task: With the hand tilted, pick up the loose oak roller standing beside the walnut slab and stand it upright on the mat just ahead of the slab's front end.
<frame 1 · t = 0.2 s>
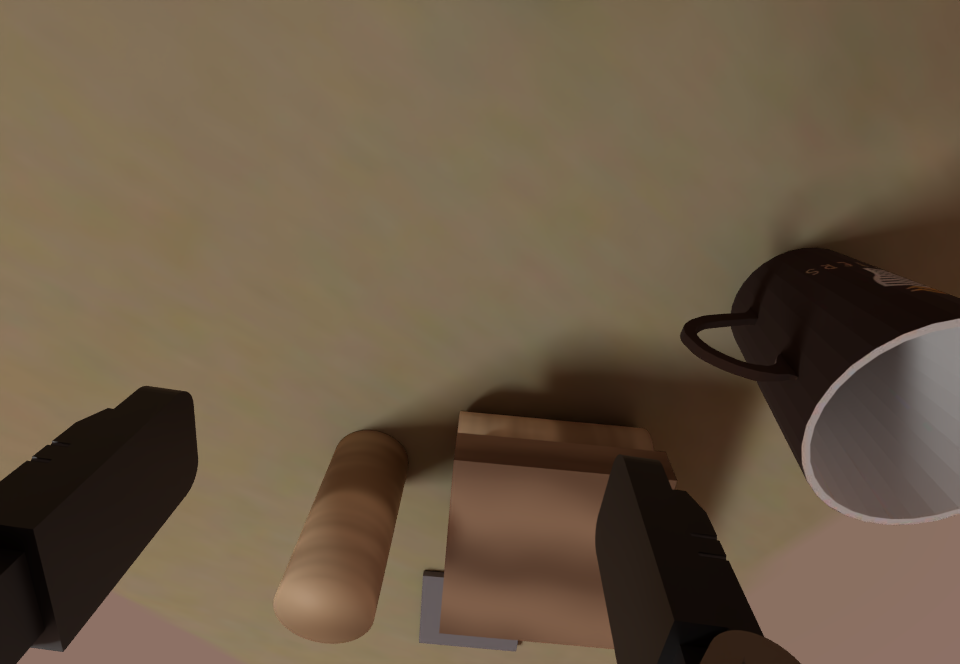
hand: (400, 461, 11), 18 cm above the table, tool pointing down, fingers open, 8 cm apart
coffee mug: (775, 289, 28), on the table
roller: (371, 460, 33), on the table
slab: (538, 476, 33), on the table
mat: (471, 609, 39), on the table
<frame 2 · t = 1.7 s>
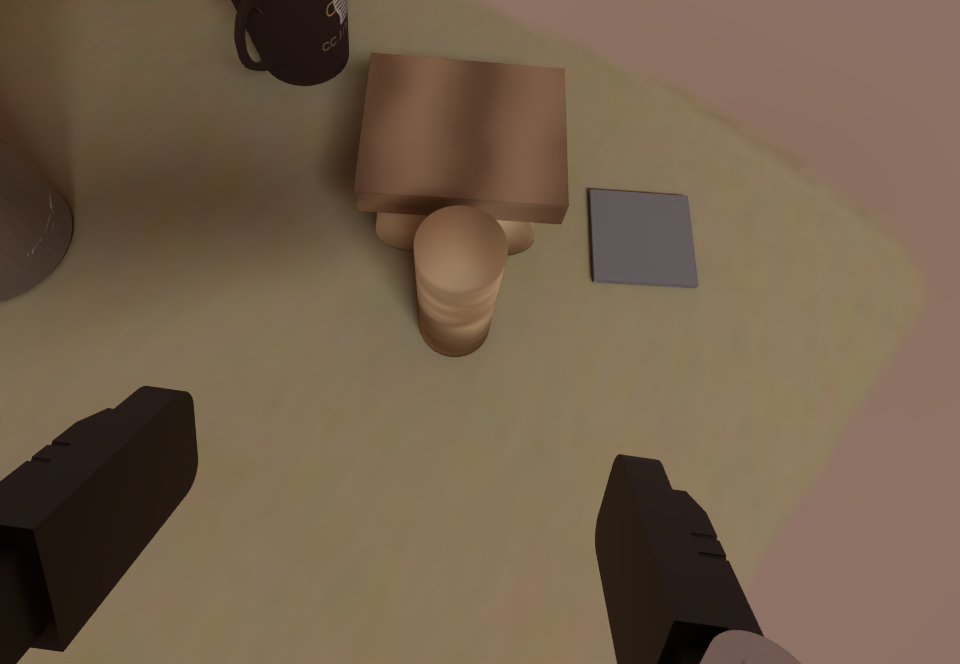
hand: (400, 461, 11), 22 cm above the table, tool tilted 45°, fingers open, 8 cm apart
coffee mug: (293, 66, 42), on the table
roller: (454, 323, 35), on the table
slab: (461, 189, 39), on the table
mat: (640, 238, 38), on the table
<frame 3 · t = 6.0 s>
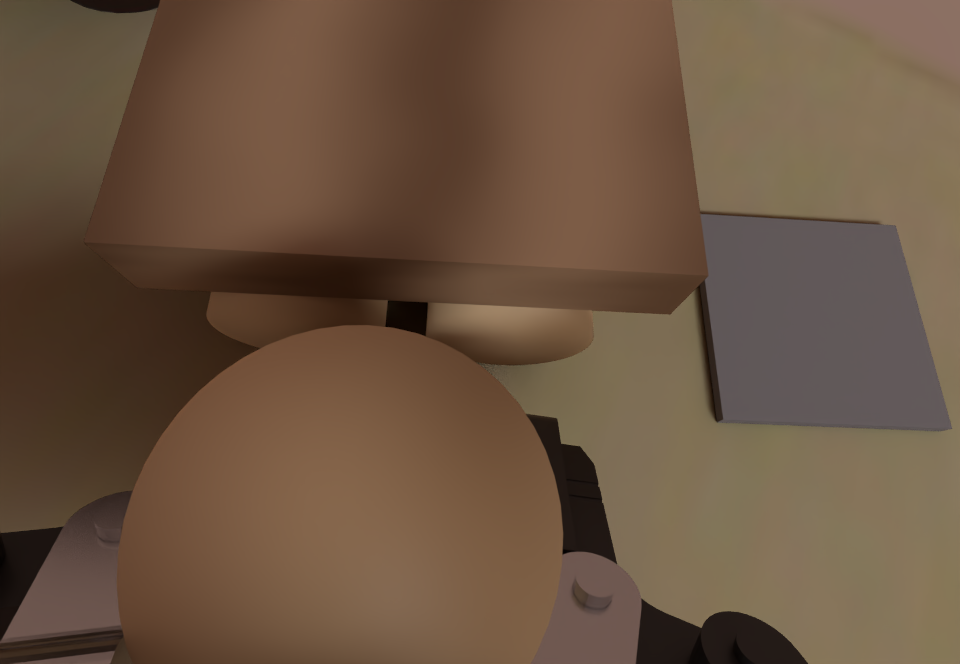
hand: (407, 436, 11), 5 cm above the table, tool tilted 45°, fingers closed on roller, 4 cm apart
roller: (404, 538, 15), on the table, touching gripper
slab: (427, 217, 19), on the table
mat: (808, 319, 18), on the table
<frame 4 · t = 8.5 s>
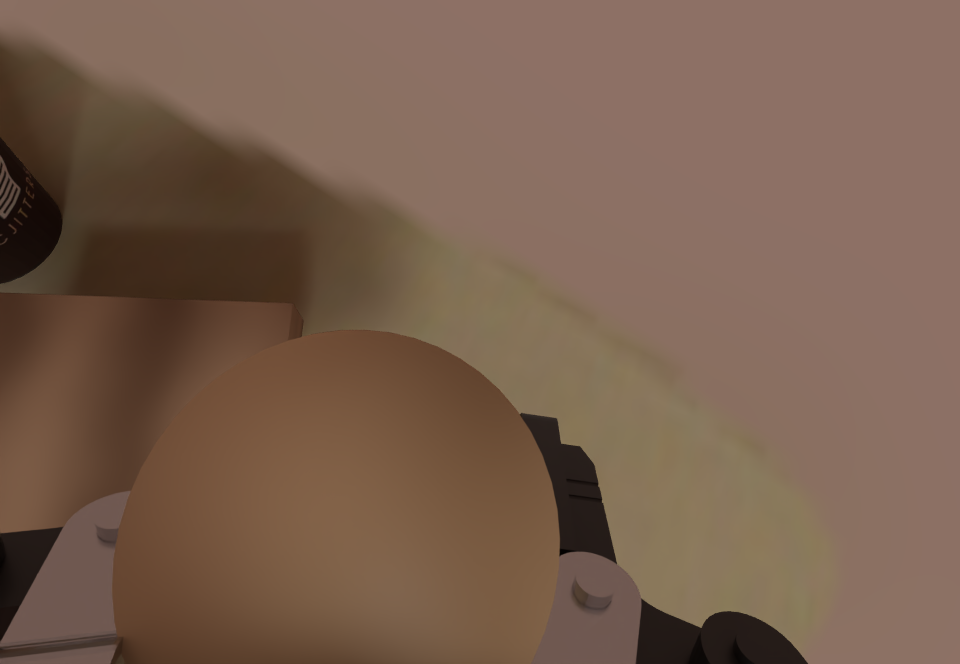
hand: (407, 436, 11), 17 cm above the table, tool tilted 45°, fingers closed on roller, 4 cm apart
roller: (404, 541, 15), point 13 cm above the table, touching gripper
slab: (187, 443, 28), on the table
when the fingers open (6 cm above the table, at t = 11.1 s): roller drops 1 cm, resting on mat.
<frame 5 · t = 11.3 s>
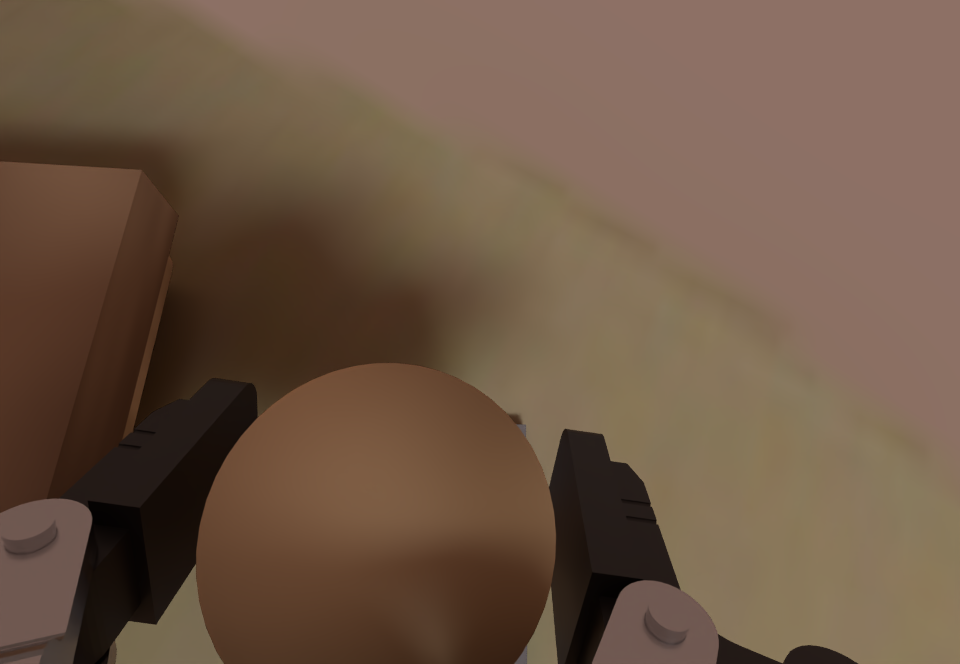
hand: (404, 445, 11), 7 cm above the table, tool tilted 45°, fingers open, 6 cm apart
roller: (405, 544, 16), resting on mat
slab: (5, 423, 17), on the table
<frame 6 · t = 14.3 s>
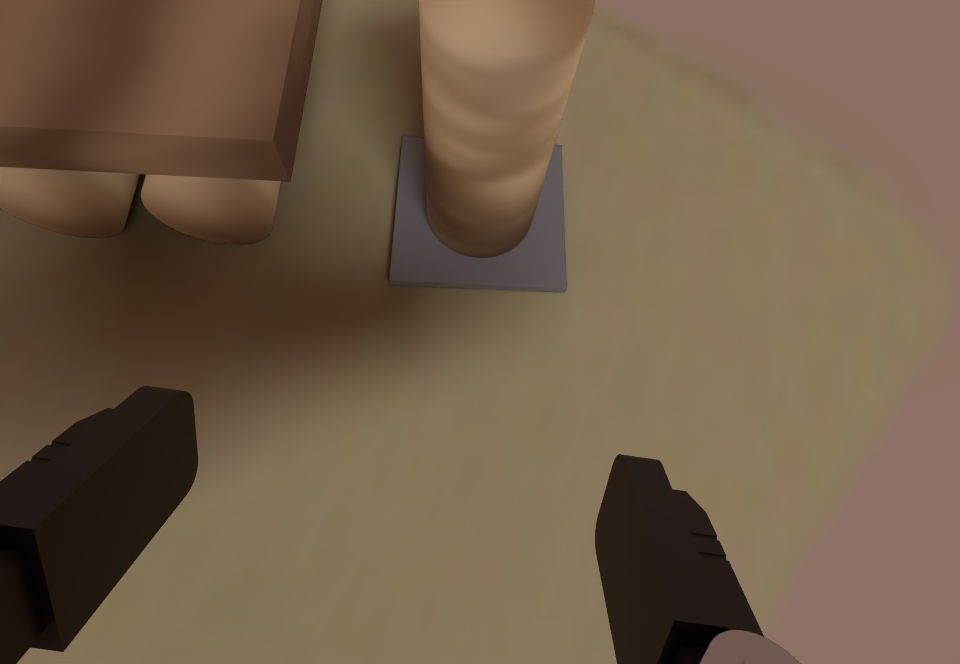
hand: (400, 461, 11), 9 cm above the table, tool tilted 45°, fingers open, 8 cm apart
roller: (479, 210, 23), resting on mat
slab: (193, 140, 24), on the table
mat: (480, 213, 24), on the table
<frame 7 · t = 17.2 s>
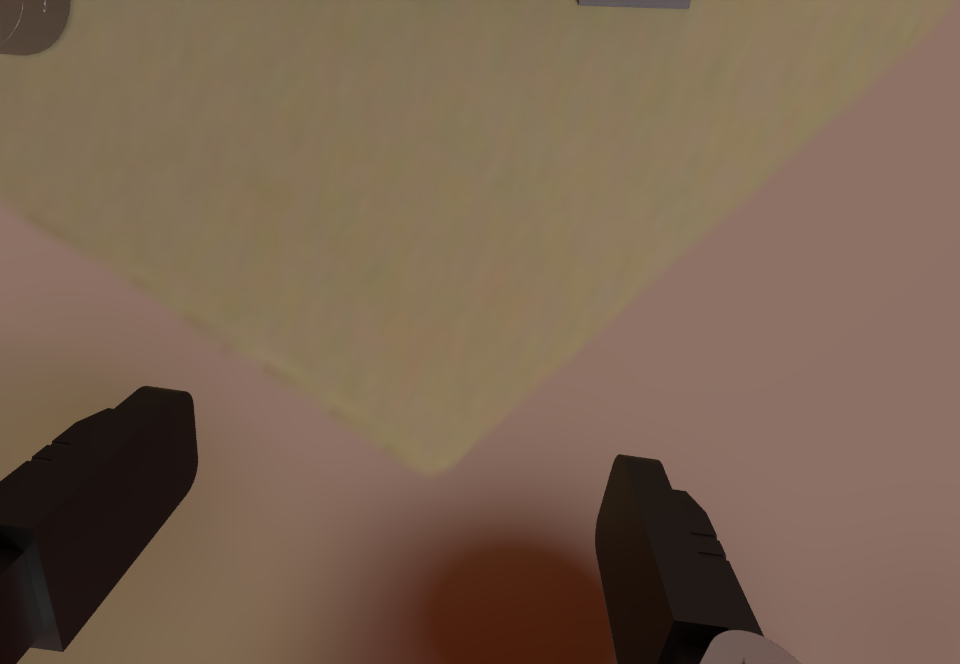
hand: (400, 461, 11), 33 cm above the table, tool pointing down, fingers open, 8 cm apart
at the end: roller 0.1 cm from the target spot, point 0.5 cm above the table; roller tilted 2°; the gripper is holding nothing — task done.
